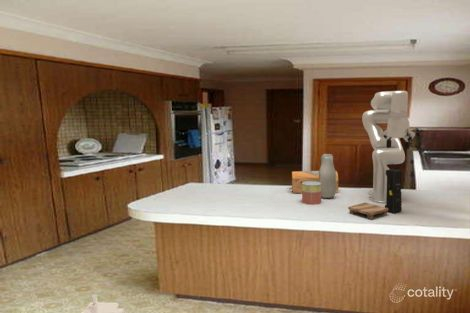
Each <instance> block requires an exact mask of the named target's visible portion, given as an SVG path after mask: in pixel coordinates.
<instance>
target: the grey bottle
mask: <svg viewBox="0 0 470 313" xmlns="http://www.w3.org/2000/svg"><path fill="white" fill-rule="evenodd" d="M318 171H319V182H320V183H321V198H324V199H333V198H334V197H335V195H336V193H335V192H336V172H335V171H336V169H335V165H334V156H333V154H332V153H331V154H330V153H324V154H322V155H321V157H320V167H319V170H318Z"/></svg>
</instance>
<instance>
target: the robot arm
mask: <svg viewBox="0 0 470 313" xmlns="http://www.w3.org/2000/svg"><path fill="white" fill-rule="evenodd" d="M408 97H409V92H408V91H407V90H391V91H390V90H388V91H387V90H386V91H385V90H384V91H379V92H376V93H375V94H374V97H373V98H372V99H371V100H370V106H371V107H372V109H370V110H369V109H368V110H366V111H364V112H363V114H362V116H361V117H362V118H361V119H362V124H363V127H364V129H365V131H366V133H367V134H368V137H369V141H370V145H371V146H372V149H373V151H372V164H373V176H372V177H373V178H372V179H373V180H372V181H373V182H372V183H373V184H372V185H373V186H372V189H373V190H372V191H371V190H369V191H368V193H367V196H368V195H370V196H371V197H370V198H369V200H370V201H371V202H373V203H379V204H386V196H387V175H386V170H389V169H390V168H389V167H388V165H401V164H403V163H404V162H405V159H406V156H405V151H406V150H410V145H411V141H412V140H413V139H414V138H415V136H416V132H414V131H412V130H411V129H410V122H409V117H408V102H409V100H408V99H409V98H408ZM377 124H387V126H386V129H385V130H384V131H383V129H382V128H381V127H380V125H377ZM401 139H403V140H404V144H403V145H404V146H403V145H402V142H401ZM404 150H405V151H404Z"/></svg>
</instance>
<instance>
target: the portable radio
mask: <svg viewBox="0 0 470 313" xmlns="http://www.w3.org/2000/svg"><path fill="white" fill-rule="evenodd" d="M386 175H387V196H386V203H385V205H384V207H385V208H388V211H387V213H391V214H396V213H400V212H402V169H400V168H397V167H394V168H389V170H386Z"/></svg>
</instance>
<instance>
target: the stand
mask: <svg viewBox="0 0 470 313" xmlns="http://www.w3.org/2000/svg"><path fill="white" fill-rule="evenodd" d="M347 209H348V210H349V214H351V215H355V214H356V213H360V214H364V215H367V216H366V217H367V218H366V219H367V220H369V221H370V220H371V221H372V220H374V216H375V215H378V214H380V215H381V216H383V217H384V216H388V215H387V214H388V212H387V211H388V208H385V206H382V205H376V204H373V203H369V202H362V203H358V204H355V205H351V206H348V208H347Z"/></svg>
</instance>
